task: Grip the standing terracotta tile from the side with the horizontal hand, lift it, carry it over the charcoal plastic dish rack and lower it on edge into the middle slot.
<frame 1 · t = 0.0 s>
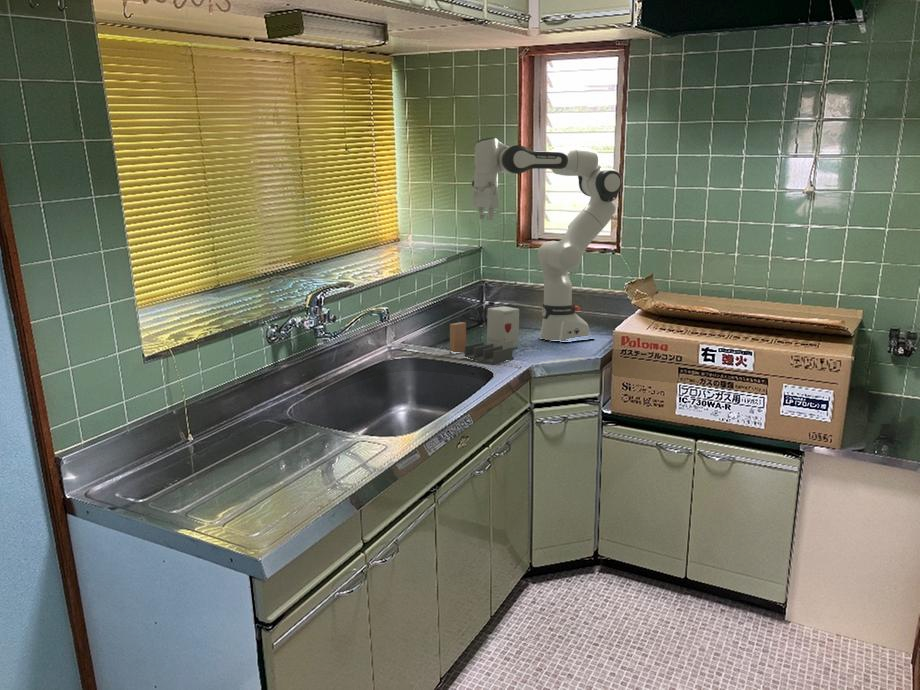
hand: (485, 219, 280), 48 cm above the worktop, tool pointing down, fingers open, 8 cm apart
tile: (457, 352, 274), on the worktop
supplement box: (502, 347, 284), on the worktop
dish rack: (488, 358, 264), on the worktop
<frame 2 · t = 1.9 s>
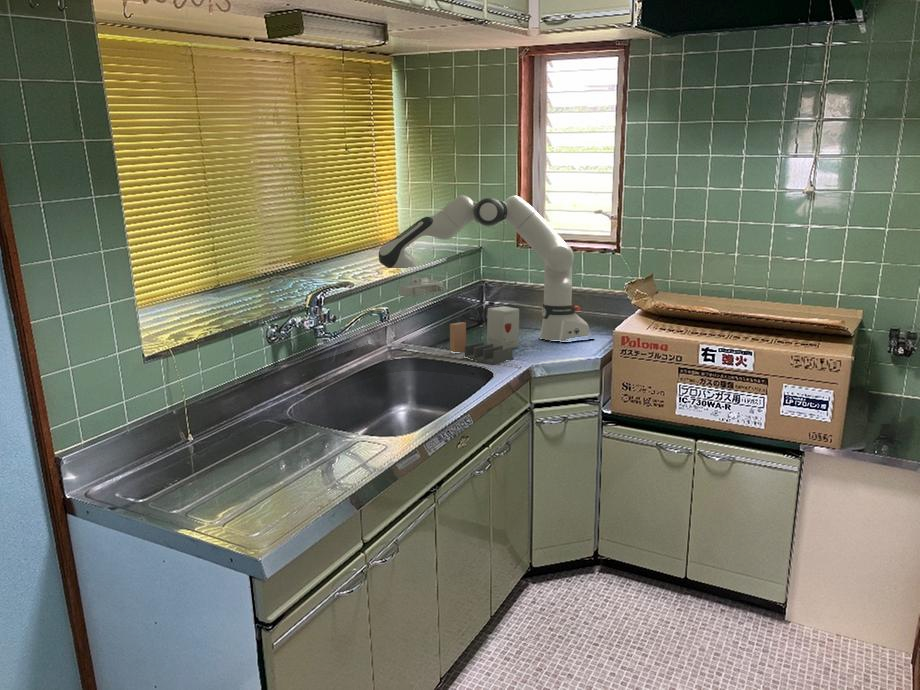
hand: (434, 290, 278), 22 cm above the worktop, tool horizontal, fingers open, 8 cm apart
nothing on the worktop moved.
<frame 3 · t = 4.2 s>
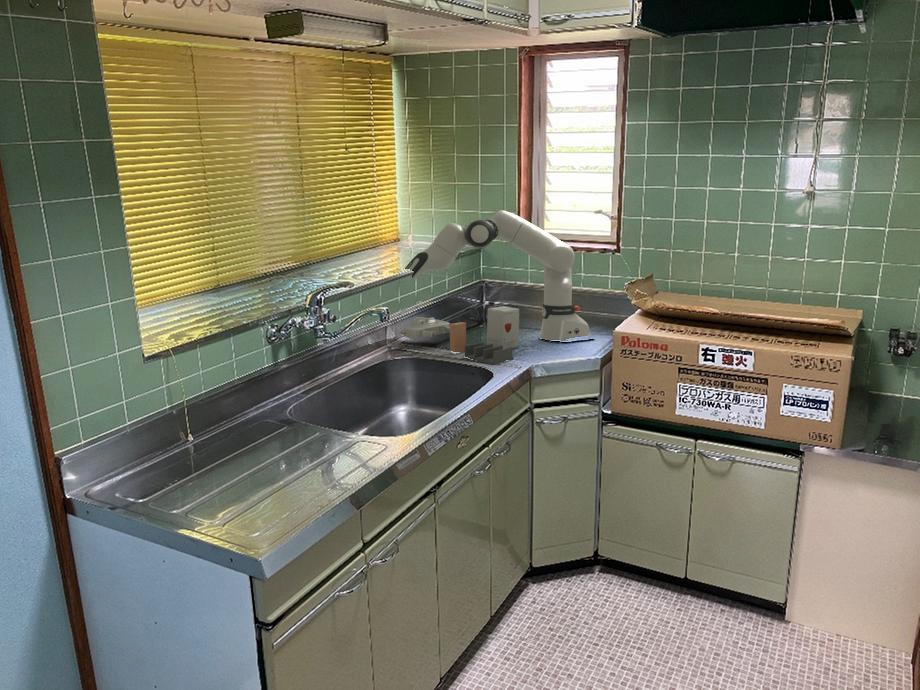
hand: (441, 332, 279), 6 cm above the worktop, tool horizontal, fingers open, 8 cm apart
nothing on the worktop moved.
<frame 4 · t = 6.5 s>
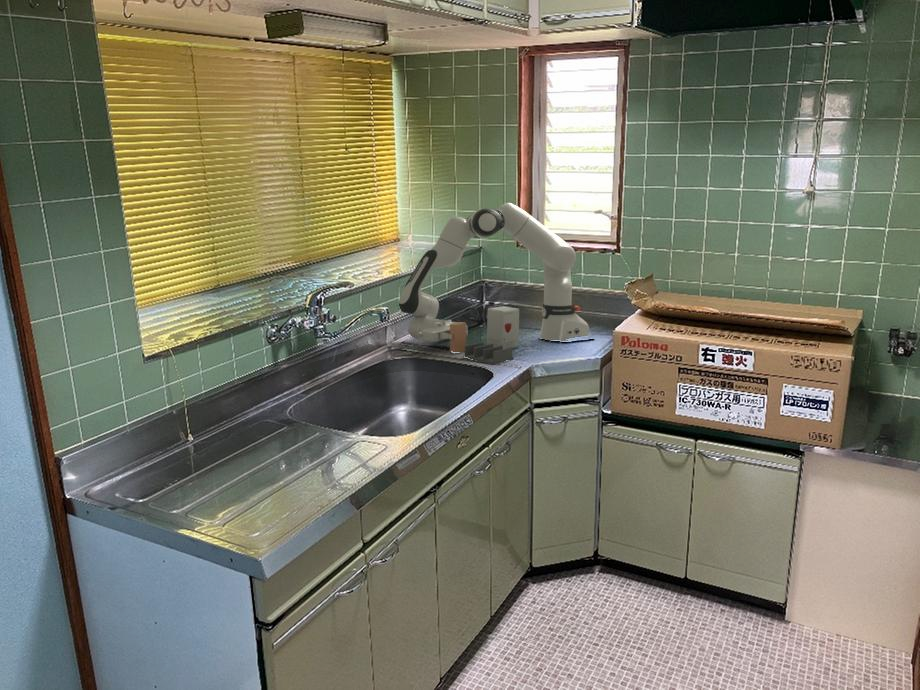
hand: (459, 335, 272), 7 cm above the worktop, tool horizontal, fingers closed on tile, 6 cm apart
tile: (457, 352, 274), on the worktop, touching gripper
everything else where it was.
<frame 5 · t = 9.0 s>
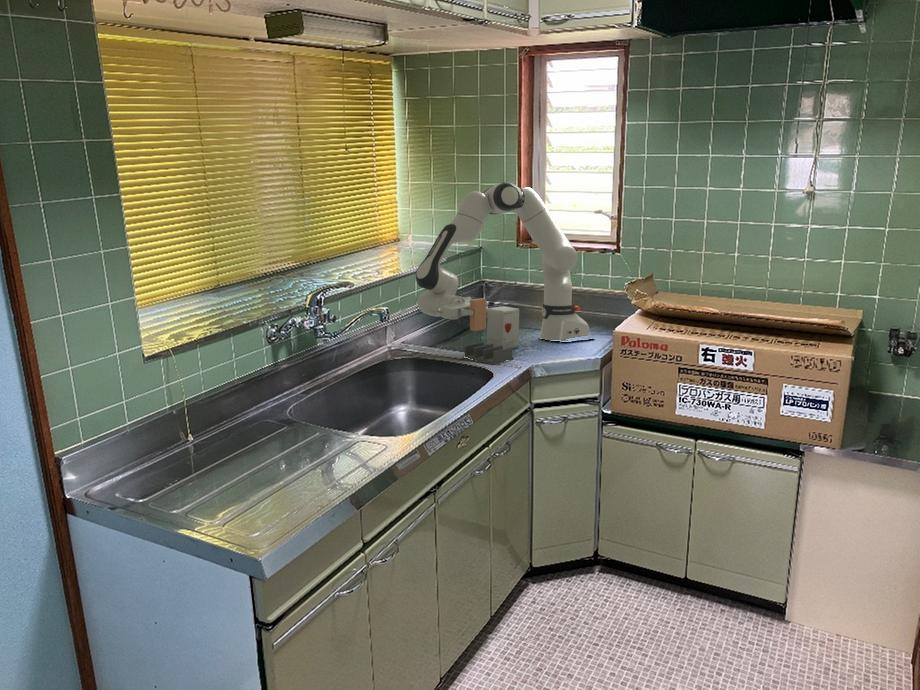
hand: (480, 311, 263), 17 cm above the worktop, tool horizontal, fingers closed on tile, 6 cm apart
tile: (478, 329, 266), point 10 cm above the worktop, touching gripper
everything else where it was.
when the fingers open (9 cm above the worktop, at t = 11.9 s): tile drops 1 cm, resting on dish rack.
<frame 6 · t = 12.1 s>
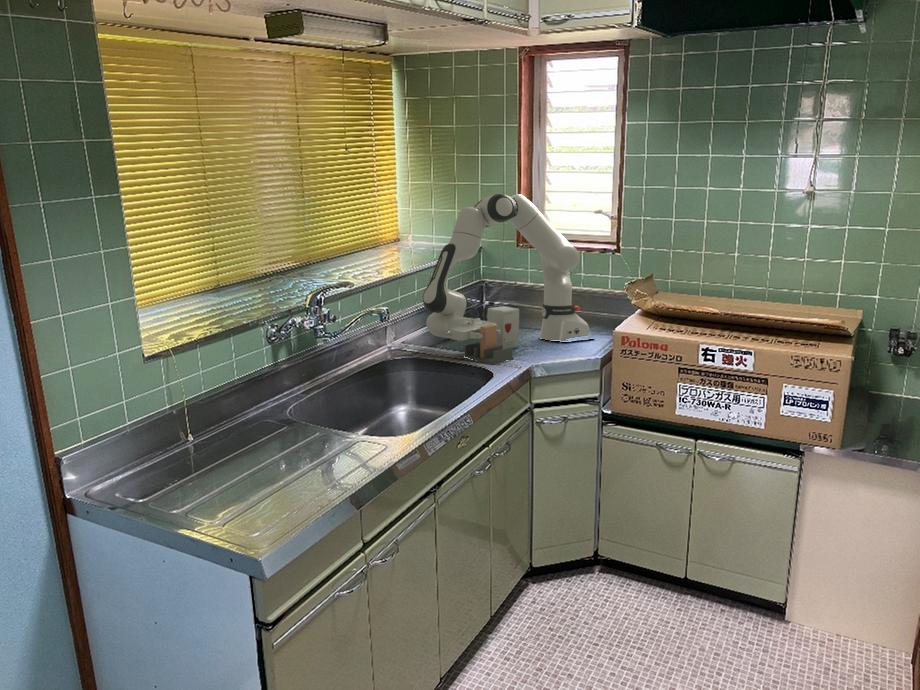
hand: (490, 334, 262), 9 cm above the worktop, tool horizontal, fingers open, 8 cm apart
tile: (488, 356, 264), point 1 cm above the worktop, touching dish rack
everything else where it was.
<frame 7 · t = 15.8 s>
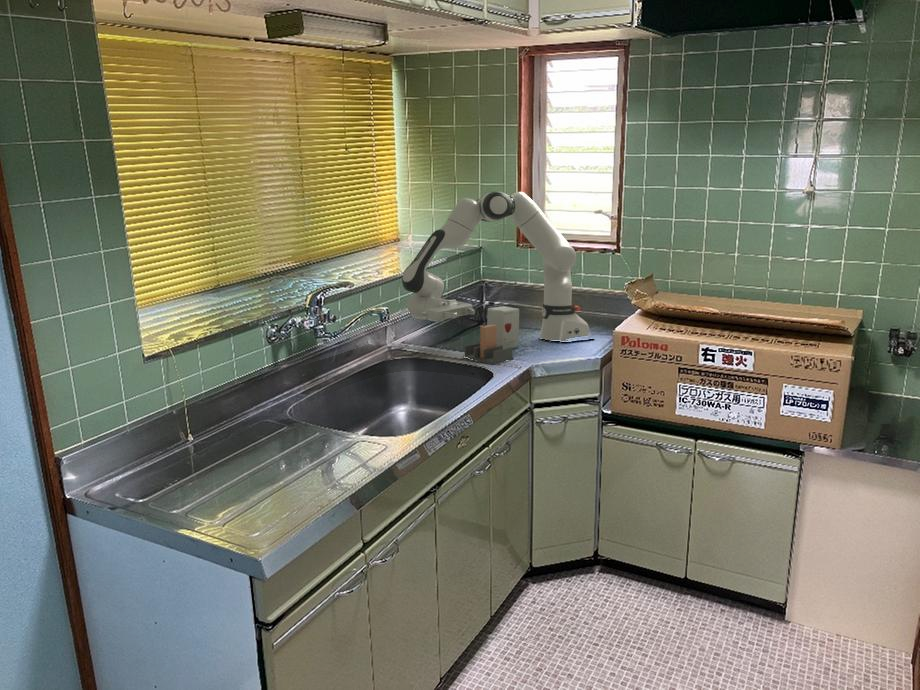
hand: (464, 313, 269), 15 cm above the worktop, tool horizontal, fingers open, 8 cm apart
nothing on the worktop moved.
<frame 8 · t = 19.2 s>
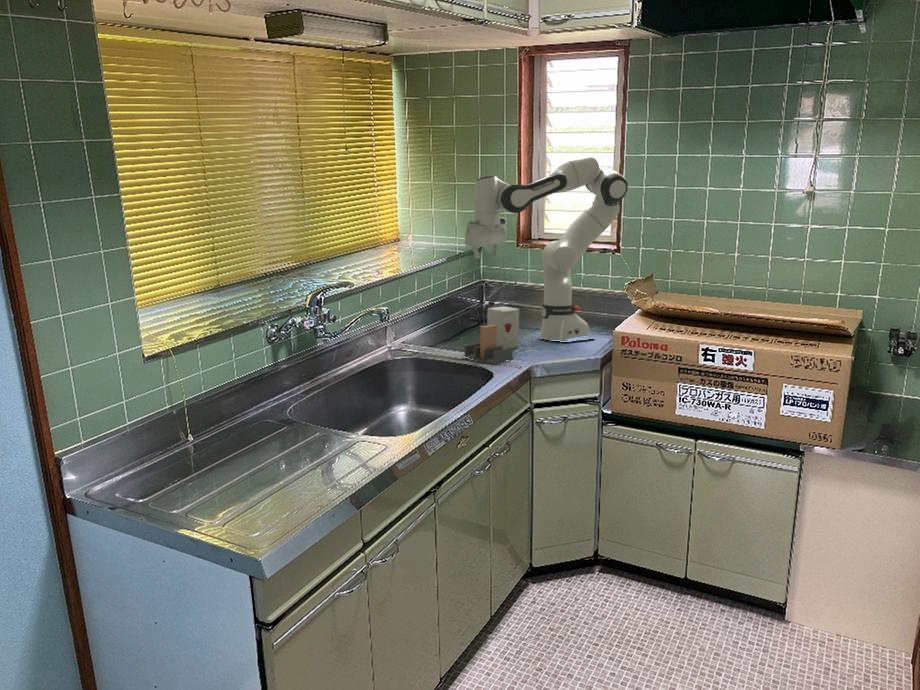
hand: (485, 257, 279), 34 cm above the worktop, tool pointing down, fingers open, 8 cm apart
nothing on the worktop moved.
at the end: tile 0.0 cm off-centre on the dish rack, point 1.0 cm above the dish rack's base; tile tilted 0°; the gripper is holding nothing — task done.
